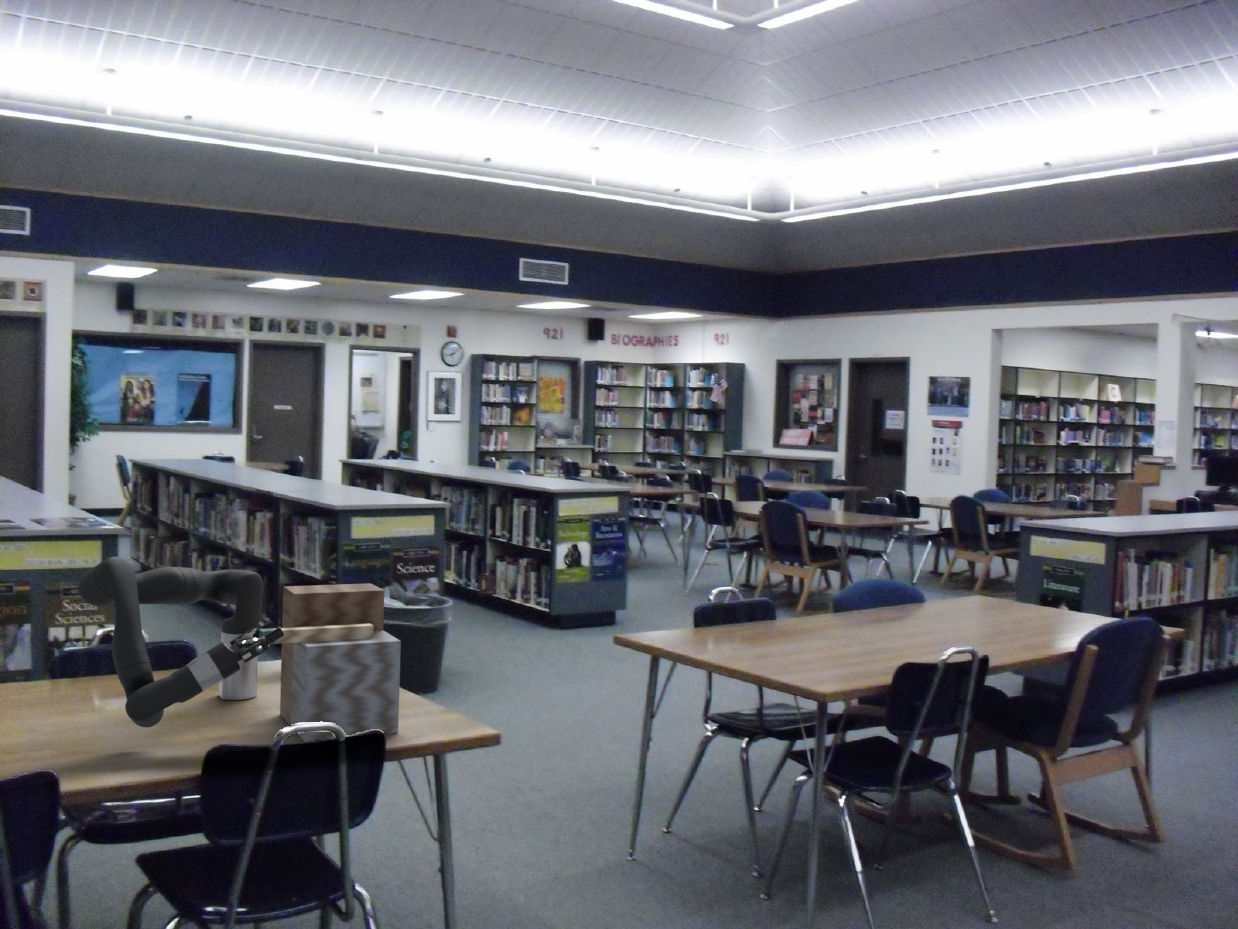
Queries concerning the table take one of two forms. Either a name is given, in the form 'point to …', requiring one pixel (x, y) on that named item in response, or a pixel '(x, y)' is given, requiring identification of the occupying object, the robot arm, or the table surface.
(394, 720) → the pedestal
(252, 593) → the robot arm
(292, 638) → the beech bar
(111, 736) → the table surface
